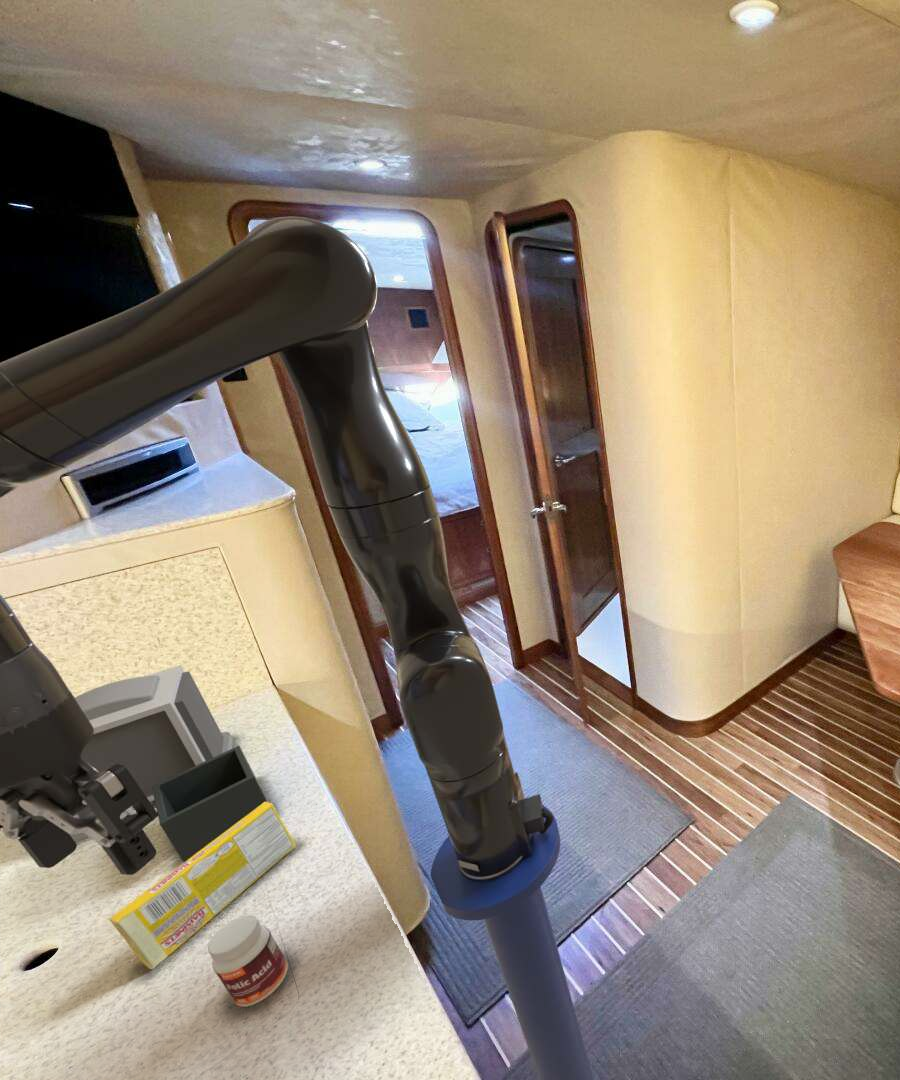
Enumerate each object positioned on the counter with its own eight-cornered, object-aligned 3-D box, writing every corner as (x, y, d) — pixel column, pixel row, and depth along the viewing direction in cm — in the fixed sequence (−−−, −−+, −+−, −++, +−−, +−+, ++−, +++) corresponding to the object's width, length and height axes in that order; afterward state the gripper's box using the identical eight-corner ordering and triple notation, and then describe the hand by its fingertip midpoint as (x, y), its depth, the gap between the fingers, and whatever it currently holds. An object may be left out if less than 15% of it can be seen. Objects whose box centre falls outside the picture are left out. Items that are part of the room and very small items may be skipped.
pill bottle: (235, 1019, 56) (201, 969, 52) (234, 982, 59) (202, 933, 56) (291, 983, 59) (262, 933, 55) (287, 949, 62) (259, 901, 59)
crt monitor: (233, 736, 97) (189, 651, 90) (229, 778, 87) (180, 687, 81) (87, 791, 87) (26, 700, 80) (65, 846, 77) (-8, 748, 70)
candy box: (287, 843, 75) (265, 799, 72) (297, 847, 75) (275, 803, 71) (141, 964, 61) (106, 917, 58) (152, 971, 61) (117, 923, 57)
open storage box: (273, 814, 80) (254, 776, 77) (184, 864, 73) (159, 824, 70) (257, 781, 86) (239, 745, 84) (174, 824, 80) (151, 786, 77)
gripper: (128, 685, 43) (213, 829, 49) (-13, 680, 45) (85, 820, 51) (2, 754, 36) (118, 912, 42) (-159, 746, 38) (-25, 898, 44)
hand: (100, 861), depth 47 cm, fingers open, 8 cm apart
